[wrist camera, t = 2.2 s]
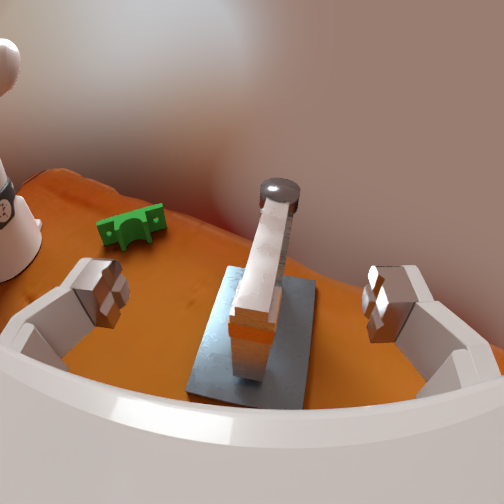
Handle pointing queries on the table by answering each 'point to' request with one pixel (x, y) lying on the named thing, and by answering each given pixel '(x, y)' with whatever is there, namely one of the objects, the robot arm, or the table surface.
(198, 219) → the table surface
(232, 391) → the bolt hole plate
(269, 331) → the post
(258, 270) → the grey metal upright piece
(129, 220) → the pipe clamp
